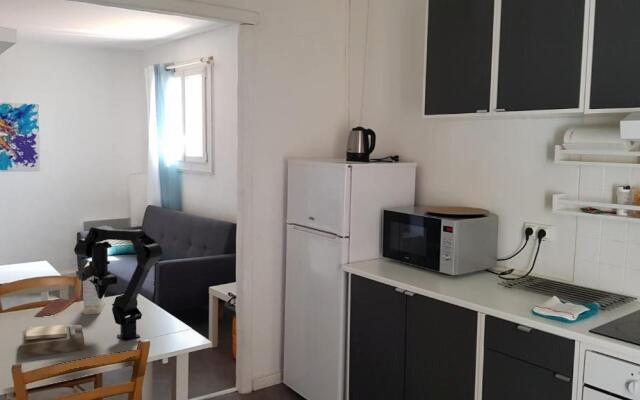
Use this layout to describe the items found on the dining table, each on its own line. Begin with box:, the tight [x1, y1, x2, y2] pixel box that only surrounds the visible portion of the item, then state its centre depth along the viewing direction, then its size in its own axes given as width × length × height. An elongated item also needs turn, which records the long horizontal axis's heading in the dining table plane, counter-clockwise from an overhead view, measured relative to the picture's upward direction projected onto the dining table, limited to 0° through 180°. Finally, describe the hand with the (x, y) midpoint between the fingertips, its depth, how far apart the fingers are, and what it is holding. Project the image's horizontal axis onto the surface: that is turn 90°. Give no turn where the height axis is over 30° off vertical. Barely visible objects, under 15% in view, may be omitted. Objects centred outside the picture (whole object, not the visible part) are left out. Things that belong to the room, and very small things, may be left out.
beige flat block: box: [21, 323, 85, 359], centre depth 202 cm, size 20×15×6 cm
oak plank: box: [25, 324, 67, 340], centre depth 201 cm, size 13×10×1 cm
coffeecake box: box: [82, 261, 105, 315], centre depth 247 cm, size 15×7×20 cm, turn 14°
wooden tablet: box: [34, 297, 77, 318], centre depth 248 cm, size 27×10×2 cm, turn 4°
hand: (100, 298), depth 219 cm, fingers closed
